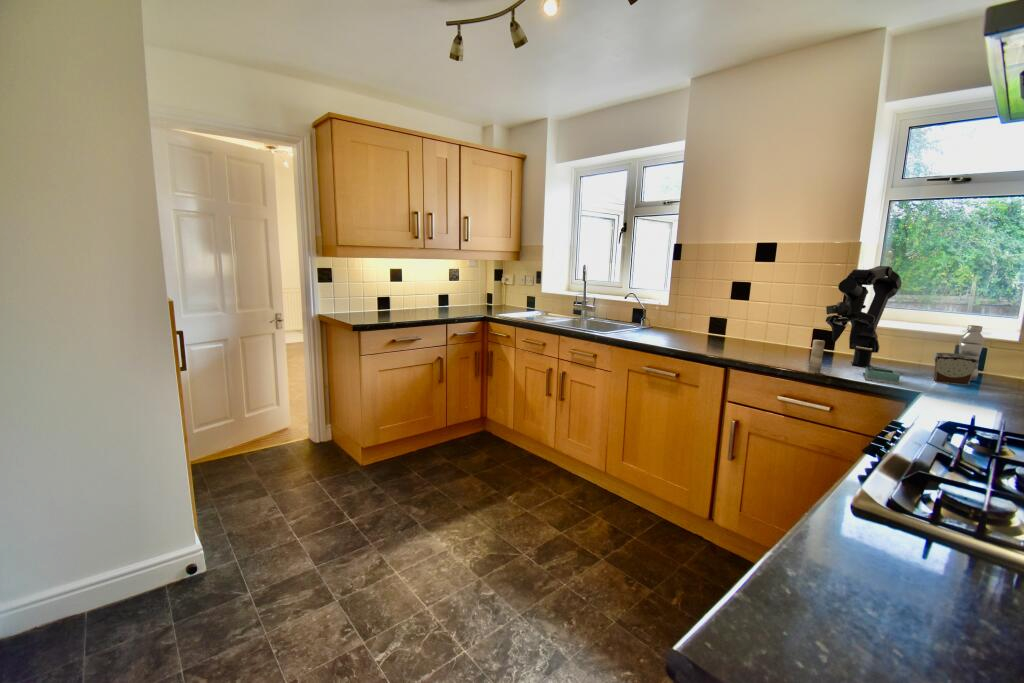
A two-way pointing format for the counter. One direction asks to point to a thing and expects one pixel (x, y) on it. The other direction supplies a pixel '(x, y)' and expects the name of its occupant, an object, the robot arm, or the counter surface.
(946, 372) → the food container
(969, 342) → the plastic bottle
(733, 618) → the counter surface
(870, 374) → the collar plate
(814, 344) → the dowel
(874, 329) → the robot arm
